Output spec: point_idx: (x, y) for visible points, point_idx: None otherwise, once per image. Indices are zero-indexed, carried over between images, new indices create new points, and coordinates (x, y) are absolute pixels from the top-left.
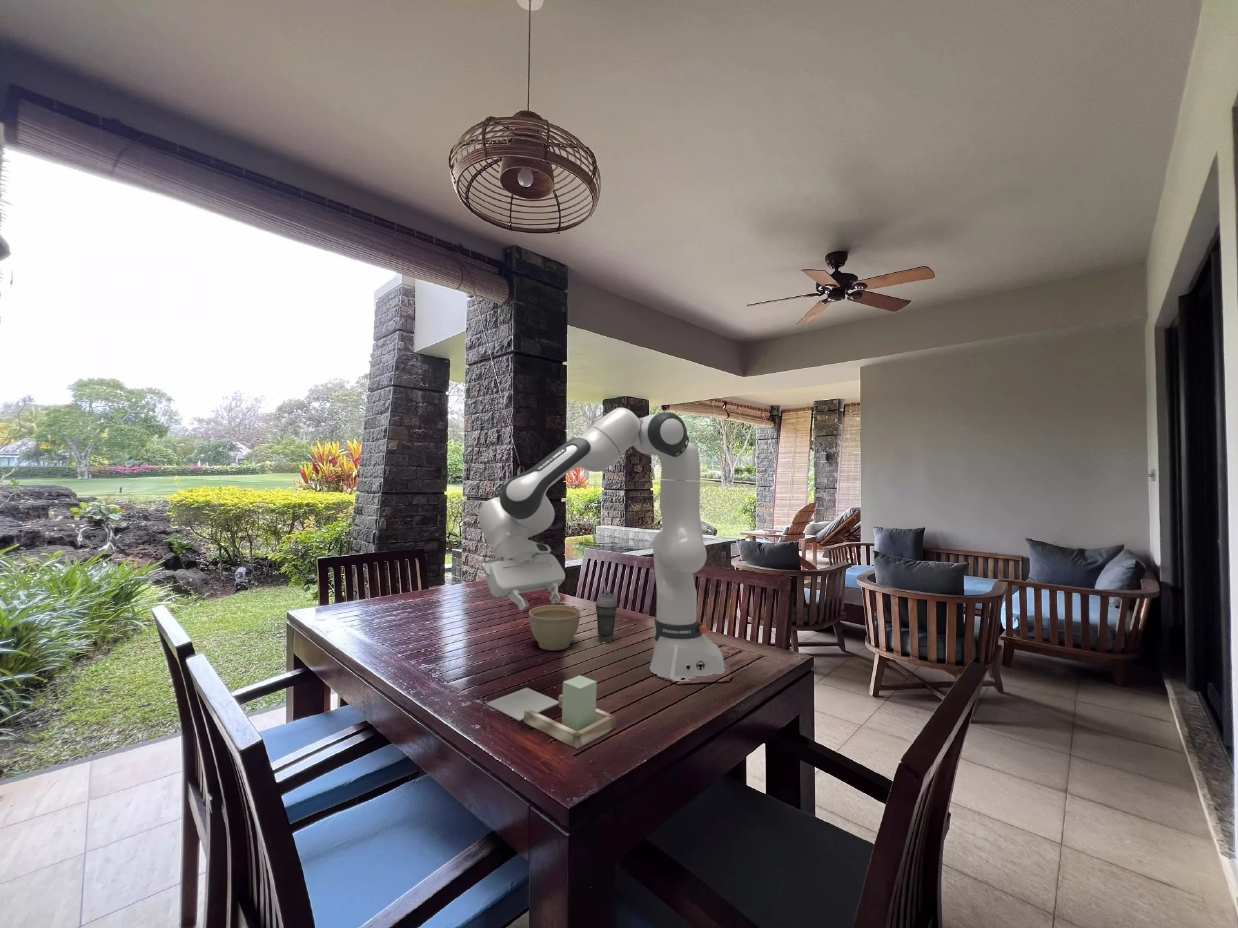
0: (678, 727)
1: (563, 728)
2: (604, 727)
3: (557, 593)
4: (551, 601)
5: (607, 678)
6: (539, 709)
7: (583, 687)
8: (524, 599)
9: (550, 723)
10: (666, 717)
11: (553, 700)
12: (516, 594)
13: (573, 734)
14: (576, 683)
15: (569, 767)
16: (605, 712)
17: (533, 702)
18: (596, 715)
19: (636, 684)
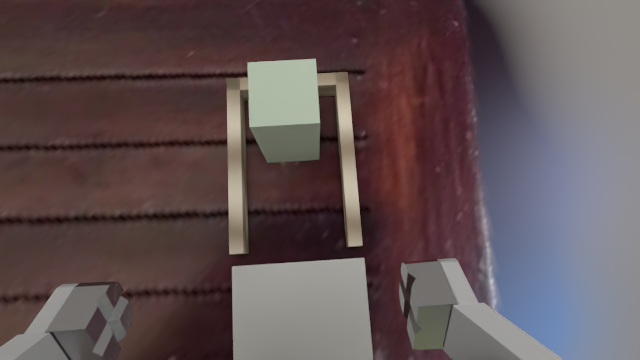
0: (140, 10)
1: (349, 113)
2: None
3: (35, 325)
4: (123, 335)
5: (20, 301)
6: (297, 267)
7: (301, 60)
8: (441, 301)
9: (354, 151)
10: (119, 50)
11: (237, 285)
12: (537, 350)
13: (348, 83)
14: (299, 89)
15: (395, 50)
16: (228, 105)
17: (282, 313)
18: (242, 124)
19: (5, 212)
